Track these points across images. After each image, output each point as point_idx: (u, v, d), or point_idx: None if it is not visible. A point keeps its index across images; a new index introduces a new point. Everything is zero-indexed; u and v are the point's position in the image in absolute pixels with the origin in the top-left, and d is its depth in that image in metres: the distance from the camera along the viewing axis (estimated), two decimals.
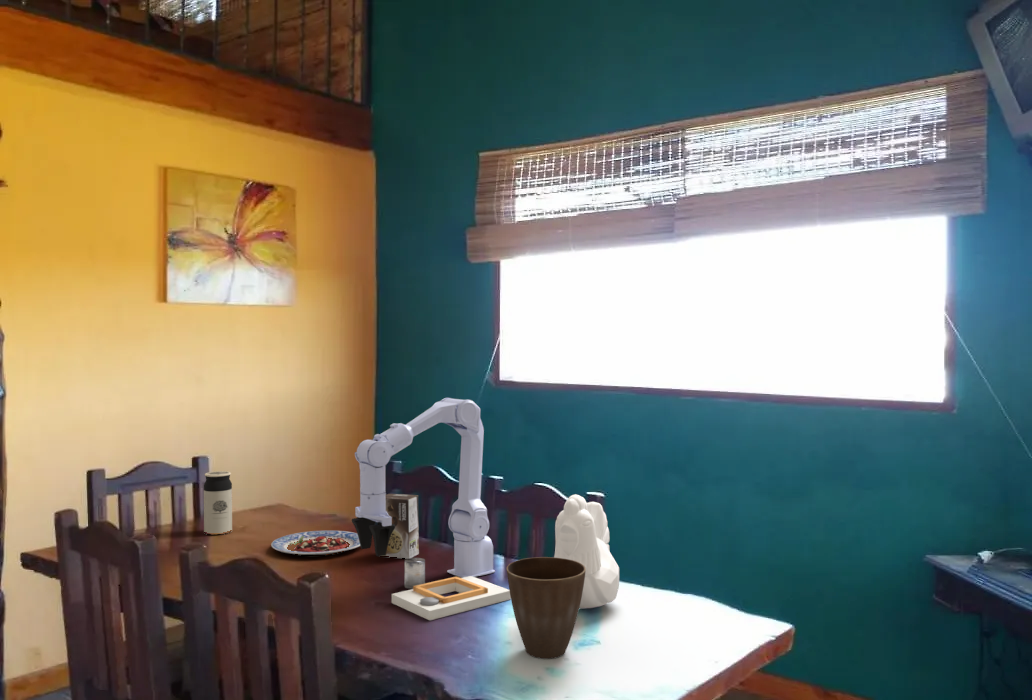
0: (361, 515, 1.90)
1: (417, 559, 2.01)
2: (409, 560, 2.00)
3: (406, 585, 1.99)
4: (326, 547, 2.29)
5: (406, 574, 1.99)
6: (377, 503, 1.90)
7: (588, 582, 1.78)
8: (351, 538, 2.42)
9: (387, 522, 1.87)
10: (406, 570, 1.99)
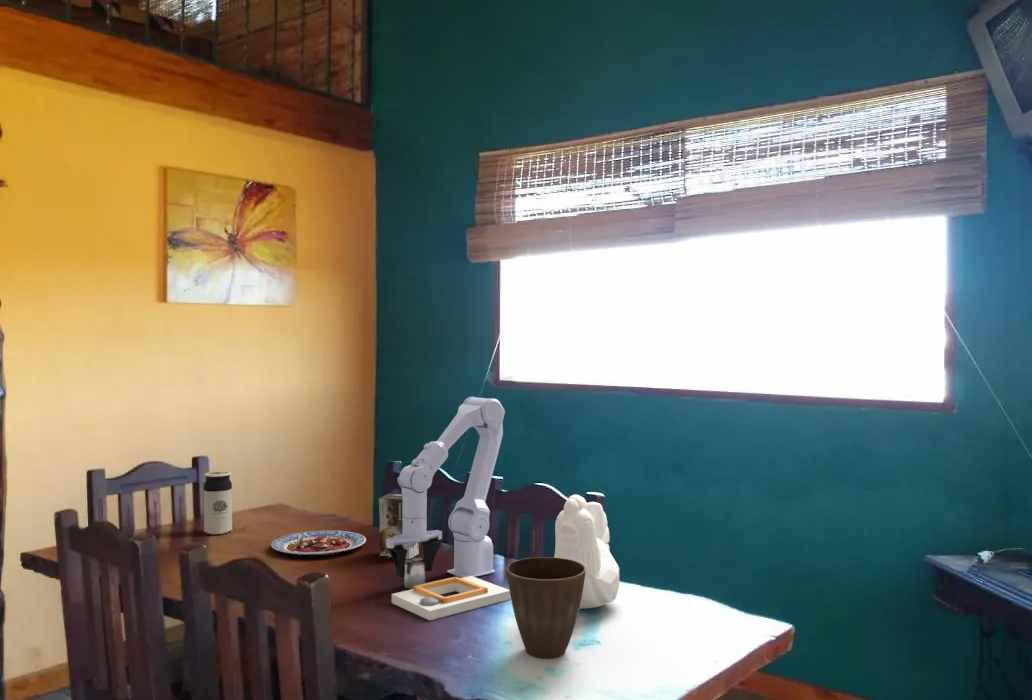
0: None
1: (417, 559, 2.01)
2: (409, 560, 2.00)
3: (406, 585, 1.99)
4: (326, 547, 2.29)
5: (406, 574, 1.99)
6: (403, 526, 1.99)
7: (588, 582, 1.78)
8: (351, 538, 2.42)
9: (388, 543, 1.96)
10: (406, 570, 1.99)
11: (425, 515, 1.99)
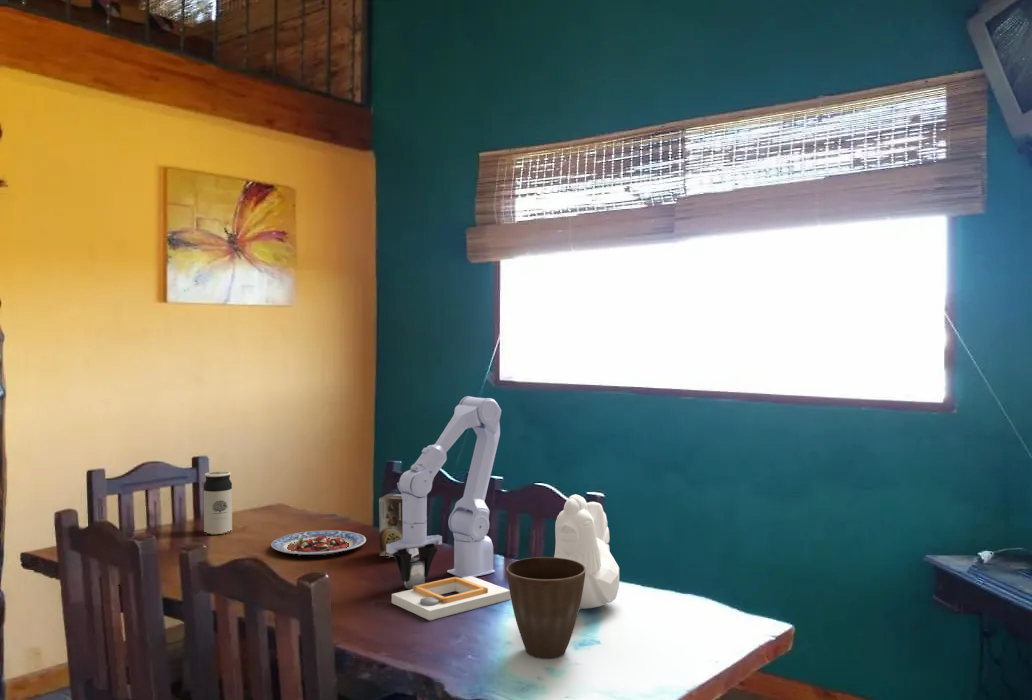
0: None
1: (417, 559, 2.01)
2: None
3: (406, 585, 1.99)
4: (326, 547, 2.29)
5: None
6: (403, 531, 1.99)
7: (588, 582, 1.78)
8: (351, 538, 2.42)
9: (388, 549, 1.96)
10: None
11: (425, 520, 1.99)
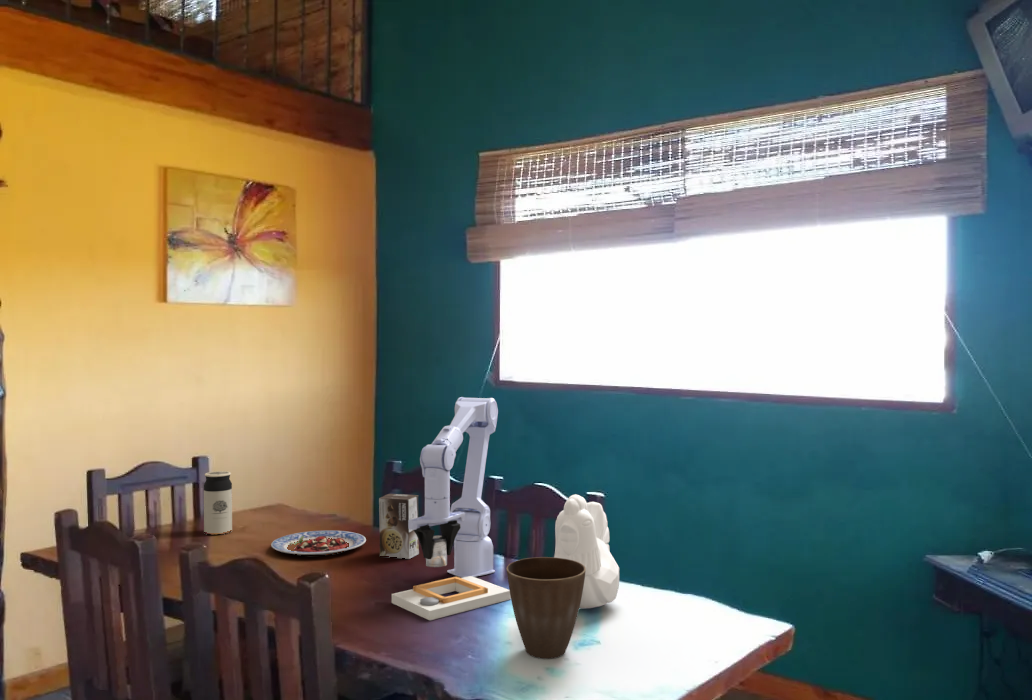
0: (425, 515, 1.95)
1: (438, 537, 1.94)
2: None
3: (428, 563, 1.92)
4: (326, 547, 2.29)
5: None
6: (426, 507, 1.91)
7: (588, 582, 1.78)
8: (351, 538, 2.42)
9: (410, 525, 1.88)
10: None
11: None
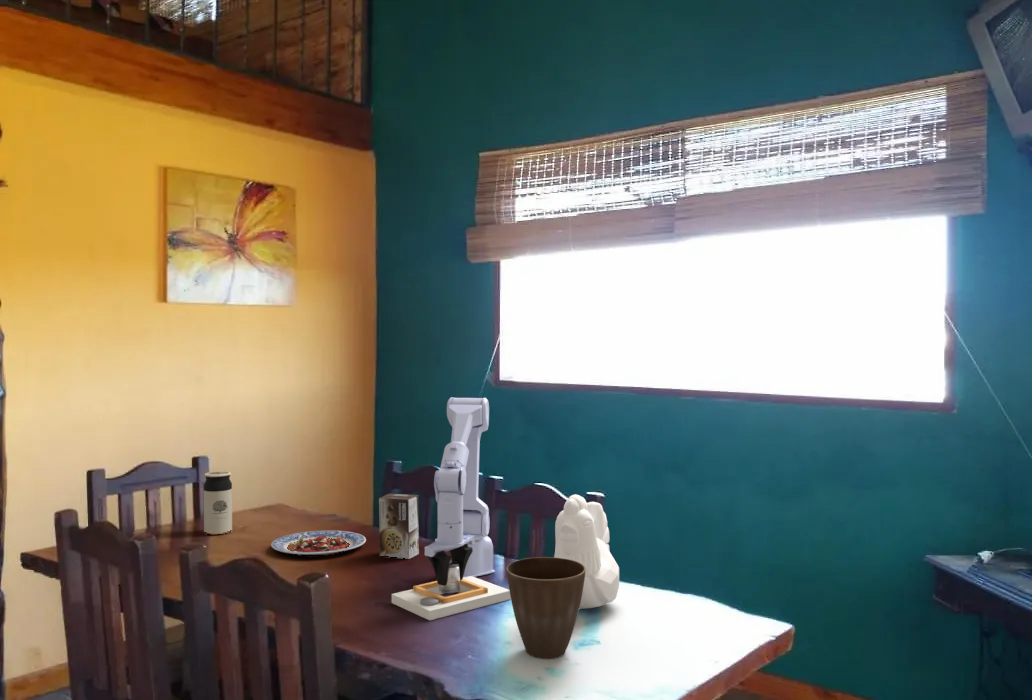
0: (436, 540, 1.90)
1: (450, 562, 1.90)
2: None
3: (442, 590, 1.88)
4: (326, 547, 2.29)
5: None
6: (440, 532, 1.87)
7: (588, 582, 1.78)
8: (351, 538, 2.42)
9: (427, 552, 1.83)
10: None
11: None
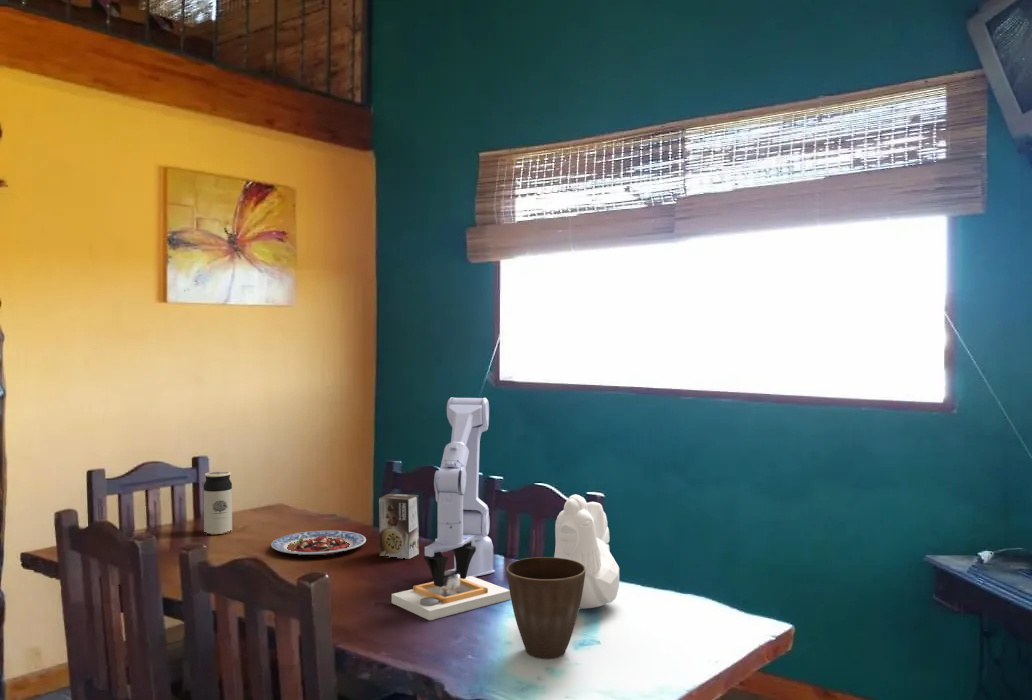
0: (436, 540, 1.90)
1: (451, 572, 1.90)
2: (444, 574, 1.89)
3: None
4: (326, 547, 2.29)
5: (442, 589, 1.87)
6: (440, 532, 1.87)
7: (588, 582, 1.78)
8: (351, 538, 2.42)
9: (427, 552, 1.83)
10: None
11: None
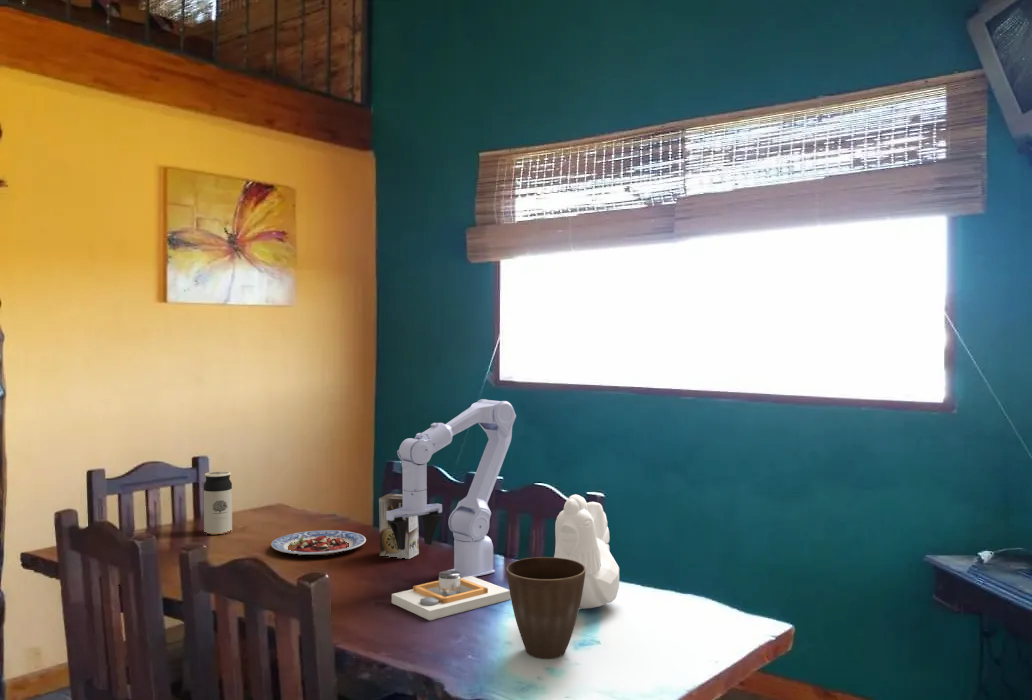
0: None
1: (451, 572, 1.90)
2: (444, 574, 1.89)
3: None
4: (326, 547, 2.29)
5: (442, 589, 1.87)
6: (403, 499, 1.98)
7: (588, 582, 1.78)
8: (351, 538, 2.42)
9: (388, 516, 1.95)
10: (442, 584, 1.87)
11: (425, 488, 1.99)
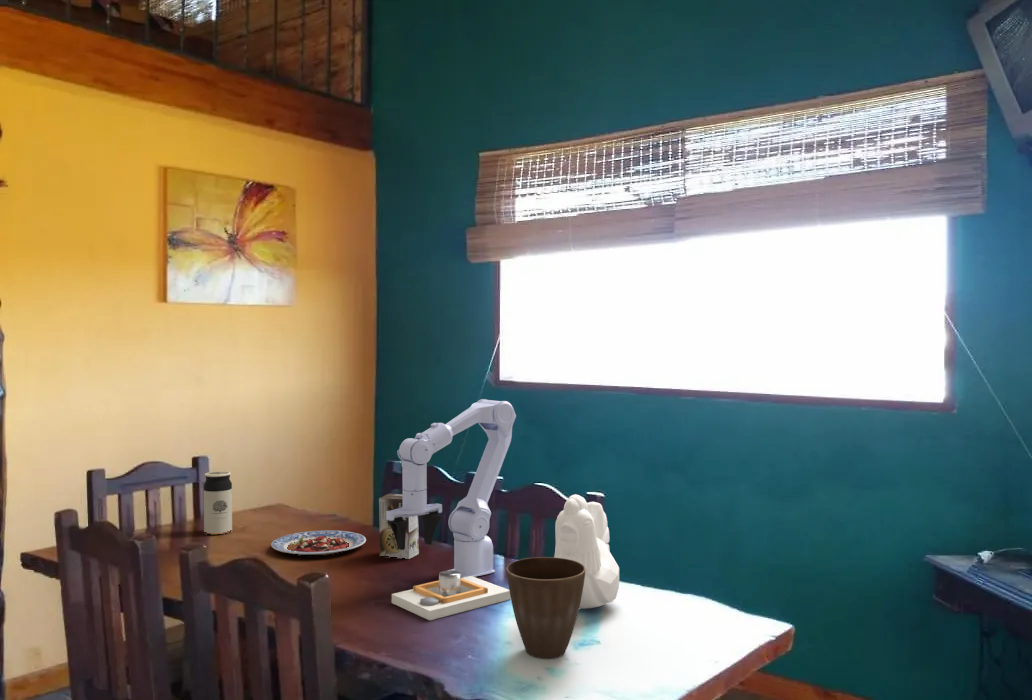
0: None
1: (451, 572, 1.90)
2: (444, 574, 1.89)
3: None
4: (326, 547, 2.29)
5: (443, 588, 1.87)
6: (403, 499, 1.98)
7: (588, 582, 1.78)
8: (351, 538, 2.42)
9: (388, 516, 1.95)
10: (442, 584, 1.88)
11: (425, 488, 1.99)
